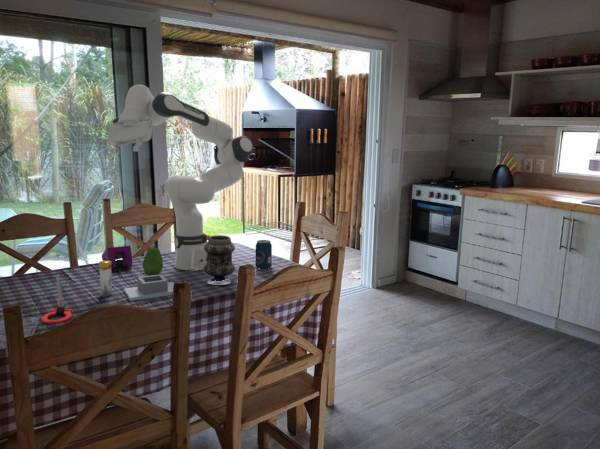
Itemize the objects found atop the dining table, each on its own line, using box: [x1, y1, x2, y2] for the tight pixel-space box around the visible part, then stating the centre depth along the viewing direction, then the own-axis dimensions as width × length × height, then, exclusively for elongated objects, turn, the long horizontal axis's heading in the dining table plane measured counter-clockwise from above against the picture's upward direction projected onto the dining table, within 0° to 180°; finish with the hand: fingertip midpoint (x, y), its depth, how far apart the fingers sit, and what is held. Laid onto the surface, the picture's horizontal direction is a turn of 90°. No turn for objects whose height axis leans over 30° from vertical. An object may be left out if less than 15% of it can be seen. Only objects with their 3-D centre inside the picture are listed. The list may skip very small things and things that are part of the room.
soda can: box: [254, 239, 273, 269], centre depth 210 cm, size 7×7×12 cm
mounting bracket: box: [101, 245, 133, 270], centre depth 210 cm, size 10×8×18 cm
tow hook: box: [41, 274, 74, 325], centre depth 150 cm, size 8×13×9 cm
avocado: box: [142, 246, 164, 276], centre depth 195 cm, size 8×8×12 cm
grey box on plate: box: [123, 273, 175, 302], centre depth 176 cm, size 18×11×5 cm, turn 120°
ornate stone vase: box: [203, 234, 236, 281], centre depth 189 cm, size 12×12×18 cm
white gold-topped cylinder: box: [98, 260, 113, 297], centre depth 172 cm, size 4×4×12 cm
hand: (126, 152), depth 192 cm, fingers open, 8 cm apart
